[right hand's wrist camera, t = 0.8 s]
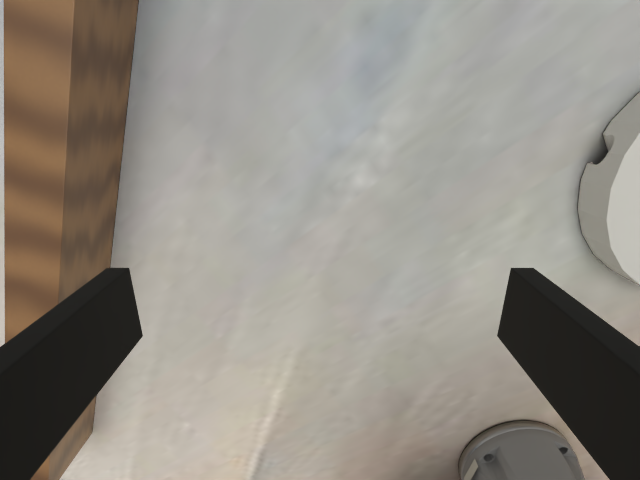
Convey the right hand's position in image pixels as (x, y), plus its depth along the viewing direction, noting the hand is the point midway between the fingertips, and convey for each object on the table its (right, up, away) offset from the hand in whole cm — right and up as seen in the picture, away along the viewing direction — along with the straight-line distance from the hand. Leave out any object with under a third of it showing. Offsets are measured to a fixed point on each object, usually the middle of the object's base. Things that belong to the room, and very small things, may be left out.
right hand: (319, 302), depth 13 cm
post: (-24, +4, +26) cm, 36 cm away
